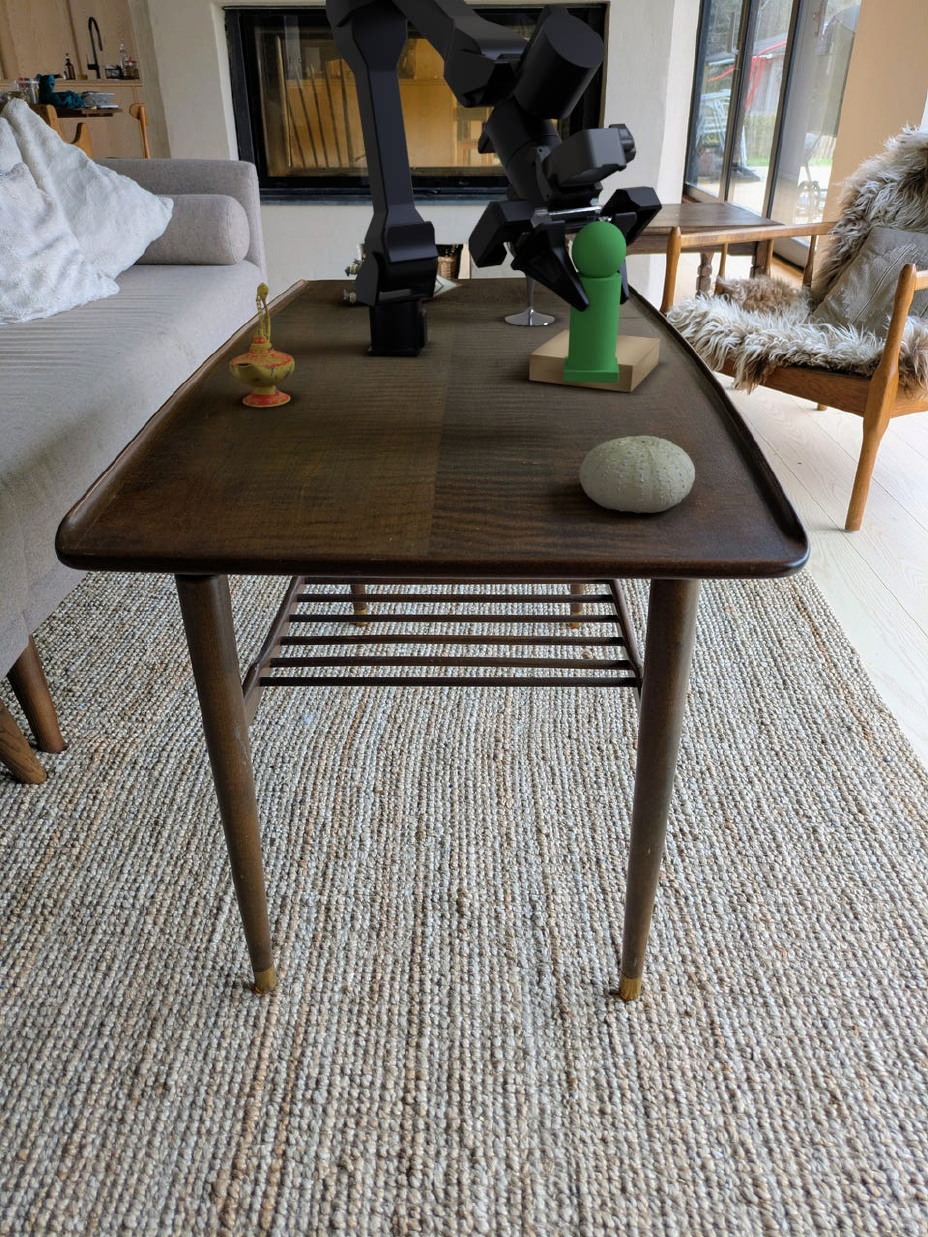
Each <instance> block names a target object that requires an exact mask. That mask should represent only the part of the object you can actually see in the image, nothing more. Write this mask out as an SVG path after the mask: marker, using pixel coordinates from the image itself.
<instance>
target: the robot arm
mask: <svg viewBox="0 0 928 1237" xmlns="http://www.w3.org/2000/svg"><path fill="white" fill-rule="evenodd" d="M325 14H326V17H327V21H328V22H329V24H330V28H331V32H332V37H333V41H334V46H335V49H336V51H337V52H338V54H339V55H340V56H341V58H342V59H343V61H344V62H345V63H346V65H347V66H348V68H349V69H350V70H351V73H352V74H353V77H354V86H355V91H356V99H357V106H358V113H359V118H360V127H361V133H362V141H363V147H364V154H365V161H366V168H367V174H368V176H367V177H368V183H369V188H370V190H369V191H370V196H371V205H372V212H373V213H372V214H373V215H372V217H371V219H370V223H369V225H368V228H367V231H366V233H365V236H364V239H363V243H364V258H363V260H364V261H363V260H362V261H363V263H362V265H361V267H360V270H359V272H358V274H357V275H355V276H356V277H355V279H354V281H353V282H354V285H353V288H354V287H355V288H354V291H355V292H354V293H356V296H357V300H359V301H361V302H360V303H364V304H366V305H368V316H369V317H368V318H369V331H370V332H369V334H370V346H369V348H368V350H367V353H368V355H379V356H380V355H381V356H382V355H385V356H387V355H388V356H419V355H420V354H421V352H422V351H423V349H424V348H425V347H426V345H427V343H428V341H429V340H428V310H426V309H425V308H423V301H422V299H423V298H431V299H433V296H434V290H435V284H436V278H437V273H438V272H439V265H440V262H439V257H440V256H439V252H438V249H437V243H436V229H435V226H434V224H433V222H432V221H431V220H427V221H426V220H425V219H423V217H422V215H421V214H420V213H419V211H418V209H417V208H416V205H415V199H414V198H415V196H414V191H413V182H412V175H411V167H410V160H409V150H408V142H407V135H406V127H405V120H404V112H403V104H402V95H401V88H400V81H399V74H398V73H399V72H398V65H399V62H400V59H401V57H402V54H403V51H404V49H405V46H406V43H407V41H408V22H410V23H411V25H413V26H414V27H415V29H416V30H417V31H418V32H419V33H420V34H421V35H422V37H424V39H425V40H426V41H427V42H428V43H429V45H431V47H432V48H433V49H434V50H435V51H436V52H437V53H438V55H439V56H440V57H441V59H442V61H443V74H442V77H443V79H444V81H445V82H446V85H447V86H448V87H449V89H450V90H451V93H452V94H453V96H454V97H455V99H456V100H457V102H458V104H459V105H460V106H461V107H462V108H464V109H485V108H486V109H487V108H492V110H491V111H490V114H489V116H488V118H487V120H486V121H483V122H482V123H481V133H480V135H479V138H478V140H477V153H478V155H486V154H487V155H489V154H496V155H497V158H498V160H499V162H500V164H501V166H502V168H503V170H504V173H505V175H506V176H507V179H508V181H509V184H508V185H507V187H506V189H505V191H504V195H505V196H506V198H507V199H499V200H490V201H489V202H488V203H487V205H486V207H485V209H484V211H483V212H482V214H481V216H480V217H479V219H478V220H477V223H476V224H475V226H474V228H473V230H472V231H471V233H470V234H469V237H468V239H467V240H468V241H467V244H468V245H467V246H468V247H467V249H468V252H469V255H470V257H471V258H472V261H473V263H474V266H476V268H477V269H482V268H491V267H497V266H502V265H503V263H504V262H505V260H506V258H507V255H508V252H509V251H508V249H507V248H506V246H505V243H506V242H512V245H513V247H515V248H514V251H515V253H516V256H515V258H514V257H513V259H512V260H511V262H510V264H509V266H510V269H512V271H519V272H522V273H523V274H524V273H525V274H526V275H528V276H530V277H531V278H533V279H534V280H535V282H538V283H539V284H541V285H542V286H544V287H545V288H547V289H548V290H549V291H551V292H553V293H554V294H555V295H557V297H558V298H561V299H562V300H563V301H565V303H567V304H569V306H570V307H571V306H573V307H574V308H575V309H577V310H578V311H580V312H584V311H585V310H586V309H587V308H588V306H589V302H588V299H587V296H586V293H585V290H584V287H583V285H582V283H581V281H580V278H579V276H578V274H577V272H578V271H577V269H576V267H575V266H574V263H573V260H572V257H571V256H570V254H569V252H568V250H567V246H566V237H575V236H576V235H577V233H578V232H579V231H580V230H581V229H582V228H583V227H584V226H586V225H587V224H590V223H592V222H597V221H604V222H608V223H611V224H613V225H614V226H616V227H617V228H618V229H619V230H620V231H621V233H622V235H623V236H624V239H625V243H626V248H628V247H630V246H631V245H632V244H634V242H636V240H637V239H638V238H639V237H640V236H641V234H642V233H643V232H644V231H645V230H646V229H647V227H648V226H649V225H650V223H652V221H653V220H654V219H655V218H656V217H657V215H658V214H659V213H660V211H661V210H662V209H663V204H662V202H661V200H660V198H659V196H658V194H657V192H656V190H655V188H654V187H653V186H645V185H641V186H632V187H621V188H616V189H615V191H614V192H613V193H612V195H611V196H610V197H609V199H608V200H606V201H607V202H605V204H604V205H603V207H602V206H601V205H597V206H593V205H592V203H591V202H592V201H593V199H597V198H598V197H599V196H600V194H601V193H602V191H604V186H603V184H602V181H604V180H606V179H607V178H609V177H610V176H612V175H613V174H615V173H617V172H623V171H624V170H626V169H627V167H628V164H629V163H631V162H632V161H634V160H635V158H636V155H637V148H636V141H635V138H634V136H633V134H632V133H631V131H630V130H629V128H628V127H627V125H626V123H611V124H609V125H608V127H602V128H587V129H583V130H580V131H577V132H575V133H573V134H572V135H571V136H569V137H567V139H565V140H562V138H561V136H560V134H559V132H558V130H557V128H556V127H555V124H554V122H553V120H554V121H556V120H558V121H559V120H562V119H566V118H567V117H568V116H570V115H571V113H572V112H573V110H574V108H575V107H576V105H577V104H578V102H579V100H580V98H581V97H582V95H583V94H584V92H585V90H586V89H587V87H588V86H589V84H590V83H591V81H592V79H593V77H594V76H595V74H596V73H597V71H598V69H599V67H600V66H601V64H602V63H603V61H604V60H605V56H606V48H605V45H604V44H605V43H604V41H603V39H602V37H601V35H600V34H599V32H595V31H594V29H593V28H592V27H591V26H589V25H588V24H587V22H584V21H583V20H582V19H580V18H578V17H576V16H575V15H572V14H570V13H569V11H568V9H567V6H566V5H565V4H549V3H548V4H546V3H545V4H544V6H543V8H542V10H541V12H540V14H539V16H538V18H537V21H536V25H535V26H534V29H533V31H532V33H531V35H530V37H529V39H526V38H525V37H524V36H522V35H520V34H519V33H517V32H516V31H514V30H512V29H511V28H509V27H506V26H503V25H501V24H498V23H496V22H495V23H494V22H491V21H488V20H487V19H485V18H483V17H482V16H480V15H479V14H478V13H477V12H475V10H474V9H473V8H472V7H471V6H470V5H469V4H468V3H467V2H466V1H465V0H325ZM617 273H620V274H621V275H622V280H621V293H620V305H619V306H622V305H625V304H626V303H627V302H628V300H629V298H630V291H629V283H628V282H629V281H628V272H627V261H626V258H625V259H624V262H623V264H622V265H621V267H620V268H619V270H618V271H617ZM525 274H524V275H525Z"/></svg>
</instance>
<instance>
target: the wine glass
mask: <svg viewBox="0 0 928 1237" xmlns="http://www.w3.org/2000/svg"><path fill="white" fill-rule="evenodd" d="M505 243H506V247H507V251H508V252H509V254H510V255H511V257H513V259H514V258H515V256H516V253H515V251H514V248H515V247H513V245H512V242H505ZM523 274H524V277H525V280H526V281H525V282H526V292H527V303H526V304H527V305H526V310H525V311H523V312H519V313H514V314H510V315H506V316H505V317H504V321H505V322H506V323H508V324H512V325H516V326H530V327H531V326H532V327H533V326H544V325H548V324H552V323H554V322H555V320H556V319H555V317H553V315H549V314H545V313H539V312H538V311H536V310H534V291H535V284H536V280H534V279H533V278H531V277H530V276H528V275H526V274H525V273H523Z"/></svg>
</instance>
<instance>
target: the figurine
mask: <svg viewBox="0 0 928 1237" xmlns="http://www.w3.org/2000/svg"><path fill="white" fill-rule="evenodd" d="M353 260H354V261H352V263H353V264H351V265H348V266H346V268H345V269H344V270H343V271H344V273H345V274H346V277H348V278H349V277H350V276H357V274H358V272H359V270H360V267H361V265H362V263H363V261H364V259H362V260H359V259H358V258H353ZM351 284H352V285H353V288H354V289H355V287H354V281H351ZM459 287H462V283H457V282H455V281H453V280H451V279H449V278H447V277H445V276H444V275H442V274H440V273H438V272H437V278H436V284H435V290H434V296H433V298H435V297H438V296H441V295H443V294H445V293H448V292H450V291H452V290H455V289H457V288H459ZM433 298H423V299H422V302H423V301H427V300H431V299H433ZM343 300H346V301H349V302H350V303H352V304H354V303H356V302H359V303H362V302H361V301H359V300H357V296H356V292H354V291H352V292H350V293H348V292H347V291H346V288H344V289H343Z"/></svg>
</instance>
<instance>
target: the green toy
mask: <svg viewBox="0 0 928 1237" xmlns="http://www.w3.org/2000/svg"><path fill="white" fill-rule="evenodd" d="M570 251H571V253H570V255H571V260H572V263H573V265H574V267H575V269H576V272H577V274H578V276H579V278H580V281H581V283H582V285H583V287H584V290H585V293H586V296H587V299H588V302H589V306H588V308H587V309H586V310H585V311H584V312H580V311H578V310H577V309H575V308H574V307H573V306H571V305H570V313H569V329H568V330H569V349H568V356H565V364H564V381H565V382H603V383H618V376H619V370H618V361H617V357H615V356H616V343H617V335H618V330H619V329H618V328H619V318H620V317H619V316H620V306H621V305H620V293H621V280H622V275H621V274H620V273H617V271H618V270H619V268H620V267H621V265H622V264H623V262H624V259H626V255H627V247H626V243H625V239H624V236H623V235H622V233H621V231H620V230H619V229H618V228H617V227H616V226H614V225H613V224H611V223H608V222H604V221H597V222H592V223H590V224H587V225H586V226H584V227H583V228H582V229H581V230H580V231H579V232H578V233H577V235H574V239H573V241H572V243H571V249H570Z"/></svg>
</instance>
